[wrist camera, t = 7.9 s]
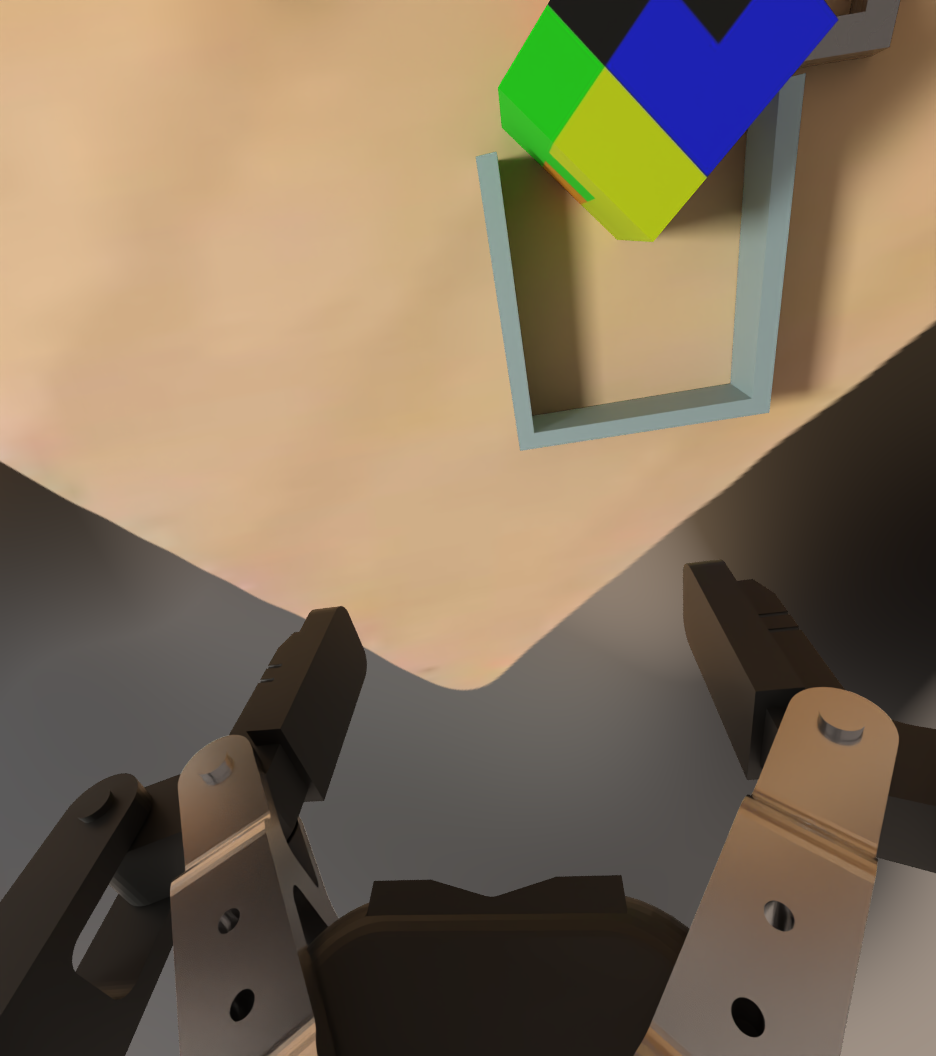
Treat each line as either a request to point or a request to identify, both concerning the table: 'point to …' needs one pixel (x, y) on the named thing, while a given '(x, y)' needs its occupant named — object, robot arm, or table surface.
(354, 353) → the table surface
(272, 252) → the table surface
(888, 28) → the crook tool
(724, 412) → the grey-blue flat square frame
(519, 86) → the puzzle toy
